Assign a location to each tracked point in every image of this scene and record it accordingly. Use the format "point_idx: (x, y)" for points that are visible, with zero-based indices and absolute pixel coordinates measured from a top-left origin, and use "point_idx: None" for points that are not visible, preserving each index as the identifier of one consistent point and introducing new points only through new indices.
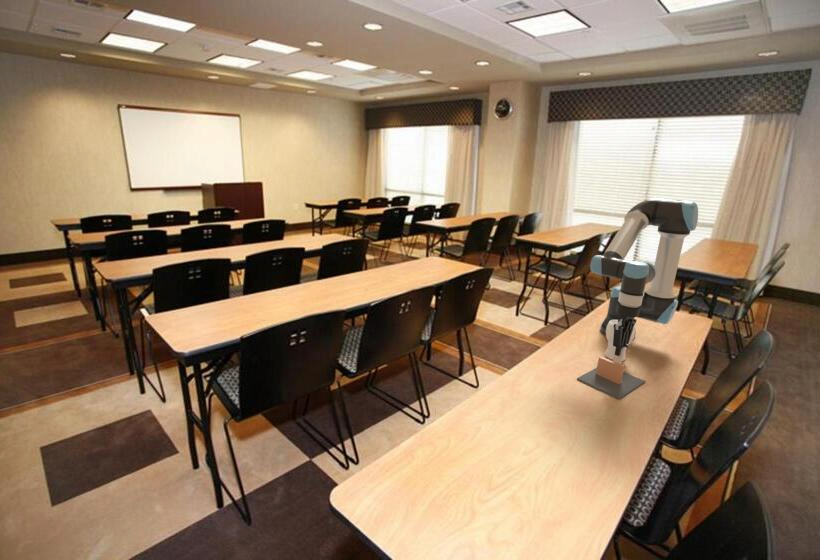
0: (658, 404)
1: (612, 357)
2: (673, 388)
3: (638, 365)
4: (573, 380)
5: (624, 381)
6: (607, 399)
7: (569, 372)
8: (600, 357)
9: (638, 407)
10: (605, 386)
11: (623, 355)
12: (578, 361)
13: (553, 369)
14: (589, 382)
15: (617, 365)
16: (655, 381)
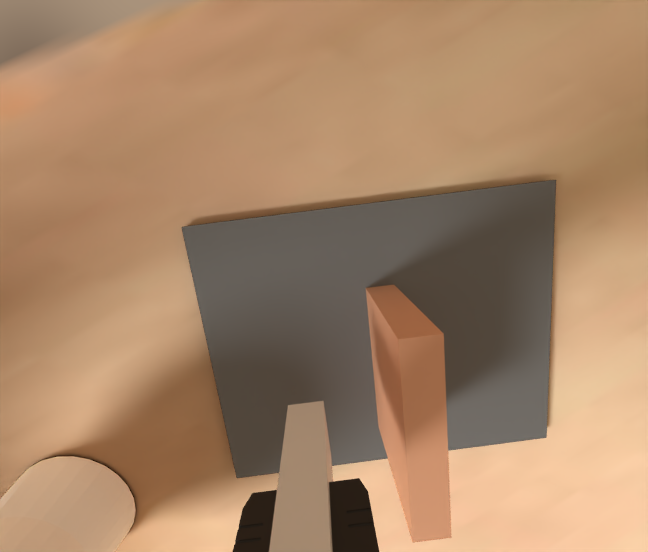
0: (377, 5)
1: (120, 504)
2: (59, 74)
3: (19, 380)
4: (564, 431)
5: (326, 290)
6: (602, 218)
7: (502, 492)
8: (437, 532)
9: (533, 59)
10: (494, 307)
11: (42, 491)
12: None
13: (546, 542)
14: (532, 377)
15: (443, 380)
16: (101, 200)
